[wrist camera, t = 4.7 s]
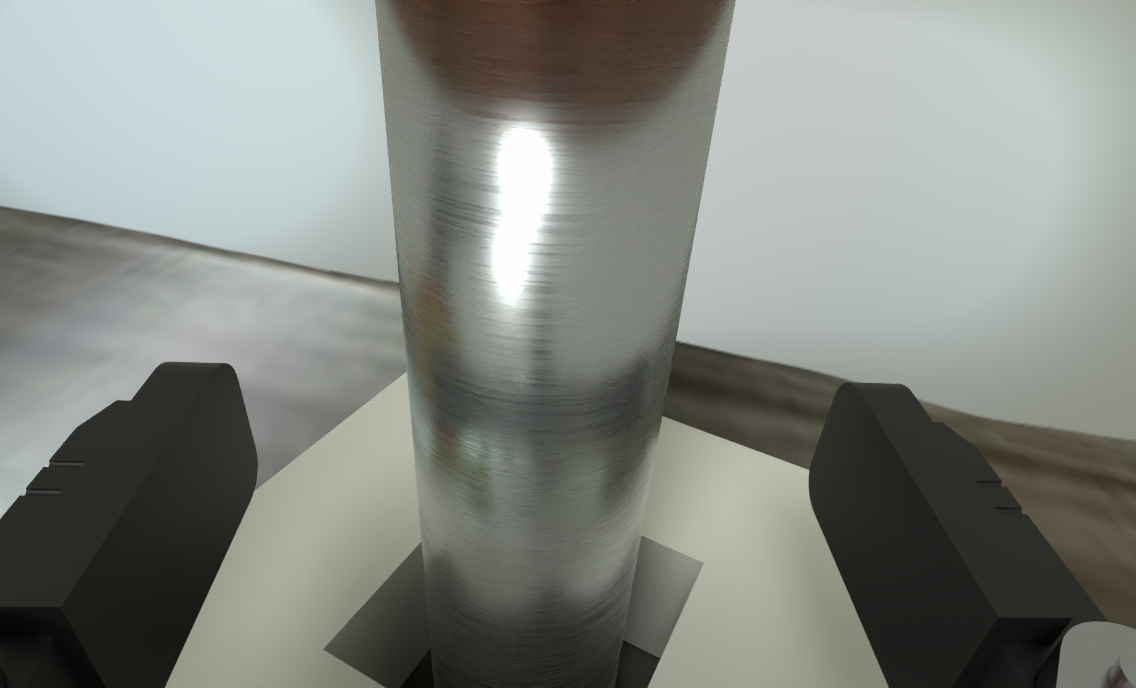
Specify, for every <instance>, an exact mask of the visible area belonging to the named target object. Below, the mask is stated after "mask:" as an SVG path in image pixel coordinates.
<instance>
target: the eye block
mask: <svg viewBox="0 0 1136 688" xmlns="http://www.w3.org/2000/svg"><path fill="white" fill-rule="evenodd" d="M809 471H810V470H807V469H805V468H802V467H799V466H796V465H794V464H791V463H788V462H786V461H783V460H780V459H777V458H775V457H772V456H769V455H767V454H764V453H761V452H758V451H756V450H753V449H750V448H748V447H745V446H742V445H739V444H737V443H734V442H731V441H728V440H726V439H723V438H720V437H718V436H715V435H712V434H709V433H707V432H704V431H701V430H699V429H696V428H693V427H690V426H688V425H685V424H682V423H680V422H677V421H674V420H671V419H669V418H666V417H663V416H662V421H661V427H660V433H659V438H658V444H657V450H656V455H655V461H654V467H653V472H652V478H651V484H650V489H649V495H648V501H647V507H646V512H645V518H644V524H643V529H642V535H641V541H640V546H639V552H638V558H637V563H636V569H635V575H634V580H633V586H632V592H631V597H630V603H629V609H628V614H627V620H626V626H625V632H624V637H623V640H624V641H626V642H628V643H630V644H632V645H634V646H636V647H638V648H640V649H642V650H644V651H646V652H648V653H650V654H652V655H654V656H656V657H658V658H660V661H659V663H658V666H657V668H656V670H655V672H654V674H653V677H652V679H651V681H650V683H649V685H648V688H889V687H888V685H887V682H886V680H885V678H884V675H883V673H882V671H881V668H880V666H879V664H878V661H877V659H876V657H875V654H874V652H873V649H872V647H871V645H870V642H869V640H868V638H867V635H866V633H865V631H864V628H863V626H862V624H861V621H860V619H859V617H858V614H857V612H856V610H855V607H854V605H853V603H852V600H851V598H850V596H849V593H848V591H847V589H846V586H845V584H844V582H843V579H842V577H841V575H840V572H839V570H838V568H837V565H836V563H835V561H834V558H833V556H832V554H831V551H830V549H829V547H828V544H827V542H826V540H825V537H824V535H823V533H822V530H821V528H820V526H819V523H818V521H817V519H816V516H815V514H814V511H813V509H812V505H811V502H810V496H809V484H808V483H809ZM430 648H431V646H430V635H429V623H428V611H427V600H426V588H425V576H424V565H423V553H422V541H421V530H420V518H419V506H418V495H417V483H416V471H415V460H414V448H413V436H412V425H411V413H410V401H409V390H408V378H407V372H405V373H404V374H403V375H402V376H400V377H399V378H398V379H396V380H395V381H394V382H393V383H391V384H390V385H389V386H387V387H386V388H385V389H384V390H382V391H381V392H380V393H379V394H377V395H376V396H375V397H373V398H372V399H371V400H370V401H368V402H367V403H366V404H364V405H363V406H362V407H361V408H359V409H358V410H357V411H356V412H354V413H353V414H352V415H350V416H349V417H348V418H347V419H345V420H344V421H343V422H341V423H340V424H339V425H338V426H336V427H335V428H334V429H333V430H331V431H330V432H329V433H327V434H326V435H325V436H324V437H322V438H321V439H320V440H318V441H317V442H316V443H315V444H313V445H312V446H311V447H310V448H308V449H307V450H306V451H304V452H303V453H302V454H301V455H299V456H298V457H297V458H295V459H294V460H293V461H292V462H290V463H289V464H288V465H287V466H285V467H284V468H283V469H281V470H280V471H279V472H278V473H276V474H275V475H274V476H272V477H271V478H270V479H269V480H267V481H266V482H265V483H264V484H262V485H261V486H260V487H258V488H257V489H256V490H255V491H254V493H253V496H252V499H251V501H250V503H249V506H248V508H247V510H246V512H245V514H244V517H243V519H242V521H241V523H240V525H239V527H238V530H237V532H236V534H235V536H234V538H233V540H232V543H231V545H230V547H229V549H228V551H227V554H226V556H225V558H224V560H223V562H222V564H221V567H220V569H219V571H218V573H217V575H216V577H215V580H214V582H213V584H212V586H211V588H210V591H209V593H208V595H207V597H206V599H205V601H204V604H203V606H202V608H201V610H200V612H199V614H198V617H197V619H196V621H195V623H194V625H193V628H192V630H191V632H190V634H189V636H188V638H187V641H186V643H185V645H184V647H183V649H182V651H181V654H180V656H179V658H178V660H177V662H176V665H175V667H174V669H173V671H172V673H171V675H170V678H169V680H168V682H167V684H166V686H165V688H400V687H401V686H402V685H403V683H404V682H405V681H406V680H407V678H408V677H409V676H410V674H411V673H412V672H413V670H414V669H415V668H416V667H417V665H418V664H419V663H420V661H421V660H422V659H423V657H424V656H425V655H426V654H427V652H428V651H429V650H430Z"/></svg>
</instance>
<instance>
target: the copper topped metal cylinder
mask: <svg viewBox="0 0 1136 688" xmlns="http://www.w3.org/2000/svg"><path fill="white" fill-rule="evenodd" d="M735 1H736V0H375V4H376V16H377V26H378V39H379V51H380V63H381V74H382V84H383V97H384V108H385V121H386V133H387V144H388V156H389V168H390V178H391V191H392V201H393V213H394V226H395V236H396V237H395V238H396V249H397V261H398V273H399V284H400V296H401V308H402V320H403V331H404V343H405V355H406V366H407V378H408V390H409V401H410V413H411V425H412V436H413V448H414V460H415V471H416V483H417V495H418V506H419V518H420V530H421V541H422V553H423V565H424V576H425V588H426V600H427V611H428V623H429V635H430V646H431V658H432V670H433V681H434V688H615V683H616V677H617V671H618V666H619V660H620V654H621V649H622V643H623V637H624V632H625V626H626V620H627V614H628V609H629V603H630V597H631V592H632V586H633V580H634V575H635V569H636V563H637V558H638V552H639V546H640V541H641V535H642V529H643V524H644V518H645V512H646V507H647V501H648V495H649V489H650V484H651V478H652V472H653V467H654V461H655V455H656V450H657V444H658V438H659V433H660V427H661V421H662V416H663V410H664V404H665V399H666V393H667V387H668V381H669V376H670V370H671V364H672V359H673V353H674V347H675V342H676V336H677V330H678V325H679V318H680V313H681V308H682V302H683V296H684V290H685V285H686V279H687V273H688V267H689V262H690V256H691V251H692V245H693V239H694V233H695V228H696V222H697V216H698V211H699V205H700V200H701V194H702V188H703V183H704V177H705V171H706V166H707V160H708V154H709V148H710V143H711V137H712V131H713V126H714V120H715V114H716V109H717V103H718V97H719V92H720V86H721V80H722V75H723V69H724V63H725V57H726V52H727V46H728V41H729V34H730V29H731V23H732V18H733V12H734V6H735Z"/></svg>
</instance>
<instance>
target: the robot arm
mask: <svg viewBox="0 0 1136 688" xmlns="http://www.w3.org/2000/svg"><path fill="white" fill-rule="evenodd" d="M49 461H50V464H49V467H43V468H42V470H41V471H40V472H39V473H38V474H37V476H36V477H35V478H34V479H33V480H32V482H31V483H30V484H29V485H28V486H27V488H26V490H27V491H26V494H25V496H19V497H18V498H17V500H16V501H15V502H14V503H13V504H12V506H11V507H10V508H9V509H8V510H7V512H6V513H5V514H4V515H3V516H2V518H1V519H0V688H165V686H166V684H167V682H168V680H169V678H170V675H171V673H172V671H173V669H174V667H175V665H176V662H177V660H178V658H179V656H180V654H181V651H182V649H183V647H184V645H185V643H186V641H187V638H188V636H189V634H190V632H191V630H192V628H193V625H194V623H195V621H196V619H197V617H198V614H199V612H200V610H201V608H202V606H203V604H204V601H205V599H206V597H207V595H208V593H209V591H210V588H211V586H212V584H213V582H214V580H215V577H216V575H217V573H218V571H219V569H220V567H221V564H222V562H223V560H224V558H225V556H226V554H227V551H228V549H229V547H230V545H231V543H232V540H233V538H234V536H235V534H236V532H237V530H238V527H239V525H240V523H241V521H242V519H243V517H244V514H245V512H246V510H247V508H248V506H249V503H250V501H251V499H252V496H253V493H254V490H255V485H256V480H257V470H258V460H257V452H256V448H255V444H254V440H253V436H252V432H251V428H250V424H249V420H248V416H247V413H246V409H245V405H244V401H243V397H242V393H241V389H240V385H239V381H238V378H237V375H236V373H235V370H234V369H233V368H232V366H230V365H229V364H227V363H193V362H164V363H162V364H160V365H159V366H158V367H157V368H156V369H155V370H154V371H153V373H152V374H151V375H150V377H149V378H148V379H147V381H146V382H145V383H144V384H143V386H142V387H141V388H140V390H139V391H138V392H137V393H136V395H135V396H134V397H133V399H132V400H131V401H121V400H117V401H115V402H114V403H112V404H111V405H109V406H108V407H106V408H105V409H103V410H102V411H100V412H99V413H98V414H96V415H95V416H93V417H92V418H90V419H89V420H87V421H86V422H84V423H83V424H81V425H80V426H78V427H77V428H76V429H75V430H74V431H73V432H72V434H71V435H70V436H69V437H68V438H67V440H66V441H65V442H64V443H63V444H62V446H61V447H60V448H59V449H58V450H57V452H56V453H55V454H54V455H53V456H52V458H51V459H50V460H49ZM1001 482H1002V481H1001V480H1000V478H999V477H998V476H997V474H996V473H995V472H994V470H993V469H992V468H991V466H990V465H989V464H988V462H987V461H986V460H985V459H984V457H983V456H982V455H981V453H980V452H979V451H978V449H976V448H975V447H974V446H972V445H971V444H970V443H968V442H967V441H966V440H965V439H963V438H962V437H961V436H959V435H958V434H957V433H955V432H954V431H953V430H952V429H950V428H949V427H948V426H946V425H945V424H944V423H941V422H933V421H932V420H931V418H930V417H929V416H928V414H927V413H926V411H925V410H924V409H923V407H922V406H921V404H920V403H919V402H918V400H917V399H916V397H915V396H914V395H913V393H912V392H911V391H910V390H909V389H908V388H907V387H906V386H905V385H902V384H884V383H848V382H847V383H844V384H842V385H841V386H840V387H839V388H838V390H837V392H836V394H835V396H834V399H833V402H832V405H831V408H830V410H829V413H828V416H827V419H826V422H825V425H824V428H823V431H822V433H821V436H820V439H819V442H818V445H817V448H816V451H815V454H814V456H813V459H812V462H811V466H810V471H809V483H808V484H809V496H810V502H811V505H812V509H813V511H814V514H815V516H816V519H817V521H818V523H819V526H820V528H821V530H822V533H823V535H824V537H825V540H826V542H827V544H828V547H829V549H830V551H831V554H832V556H833V558H834V561H835V563H836V565H837V568H838V570H839V572H840V575H841V577H842V579H843V582H844V584H845V586H846V589H847V591H848V593H849V596H850V598H851V600H852V603H853V605H854V607H855V610H856V612H857V614H858V617H859V619H860V621H861V624H862V626H863V628H864V631H865V633H866V635H867V638H868V640H869V642H870V645H871V647H872V649H873V652H874V654H875V657H876V659H877V661H878V664H879V666H880V668H881V671H882V673H883V675H884V678H885V680H886V682H887V685H888V687H889V688H1136V629H1133V628H1130V627H1127V626H1123V625H1120V624H1115V623H1110V622H1108V621H1107V619H1106V618H1105V617H1104V616H1103V614H1102V613H1101V612H1100V610H1099V609H1098V608H1097V606H1096V605H1095V604H1094V602H1093V601H1092V600H1091V598H1090V597H1089V596H1088V594H1087V593H1086V592H1085V591H1084V589H1083V588H1082V587H1081V585H1080V584H1079V583H1078V581H1077V580H1076V579H1075V577H1074V576H1073V575H1072V573H1071V572H1070V571H1069V569H1068V568H1067V567H1066V565H1065V564H1064V563H1063V561H1062V560H1061V559H1060V558H1059V556H1058V555H1057V554H1056V552H1055V551H1054V550H1053V548H1052V547H1051V546H1050V544H1049V543H1048V542H1047V540H1046V539H1045V538H1044V536H1043V535H1042V534H1041V532H1040V531H1039V530H1038V528H1037V527H1036V526H1035V525H1034V523H1033V522H1032V521H1031V519H1030V518H1029V517H1028V515H1025V514H1022V512H1021V508H1022V507H1021V506H1020V505H1019V503H1018V502H1017V501H1016V499H1015V498H1014V497H1013V495H1012V494H1011V493H1010V492H1009V490H1008V489H1007V488H1006V487H1002V486H1001Z"/></svg>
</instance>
